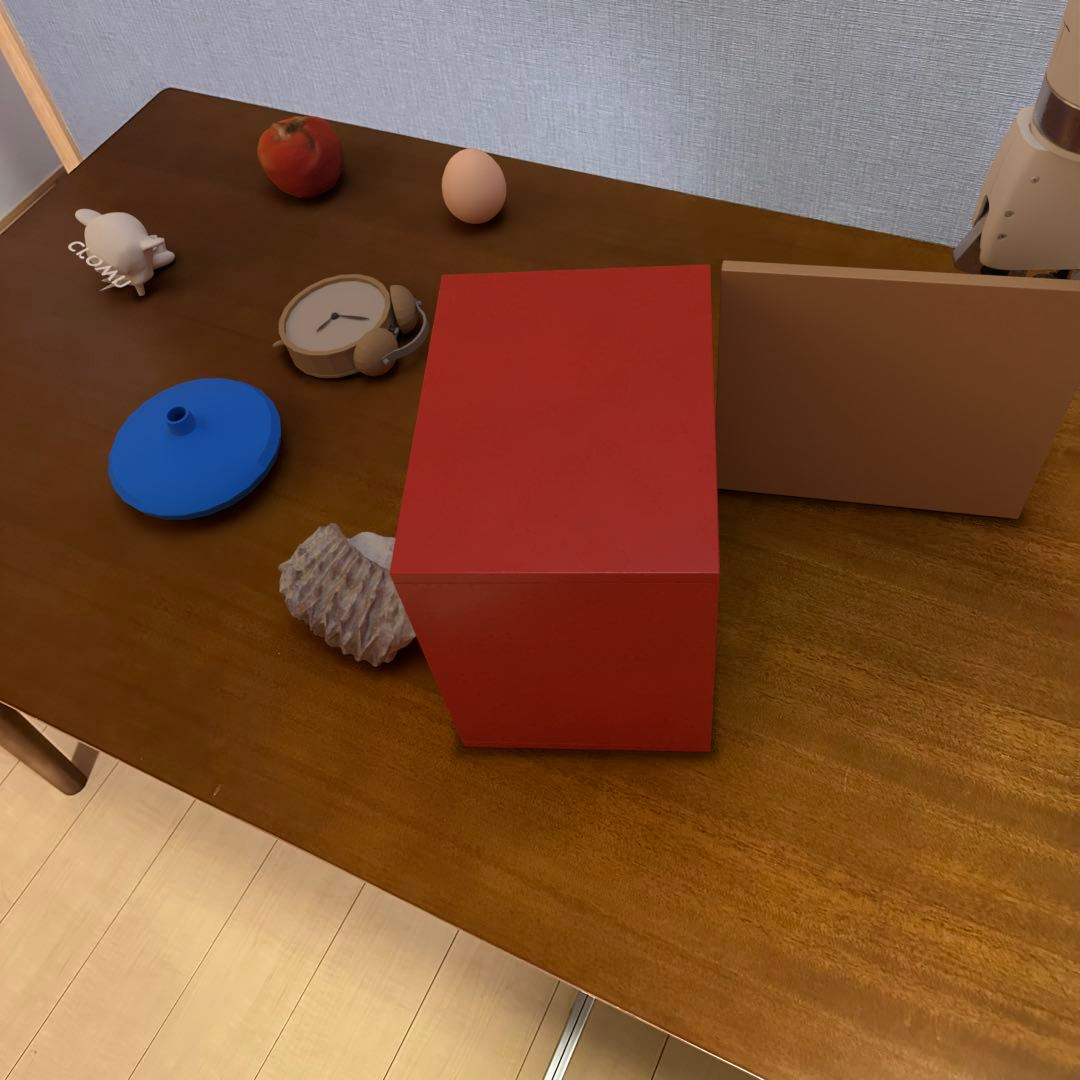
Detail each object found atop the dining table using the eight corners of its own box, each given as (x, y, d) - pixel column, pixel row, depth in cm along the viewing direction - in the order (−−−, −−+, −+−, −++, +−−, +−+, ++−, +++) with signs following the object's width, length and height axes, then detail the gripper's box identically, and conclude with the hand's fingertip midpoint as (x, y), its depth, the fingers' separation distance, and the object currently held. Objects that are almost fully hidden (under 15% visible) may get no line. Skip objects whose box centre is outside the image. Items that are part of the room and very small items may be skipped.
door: (724, 416, 92) (734, 191, 73) (1015, 441, 87) (1110, 207, 68) (712, 488, 88) (721, 270, 68) (1018, 519, 83) (1121, 293, 63)
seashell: (480, 591, 81) (391, 565, 73) (424, 695, 82) (330, 680, 74) (373, 514, 90) (284, 483, 82) (324, 608, 91) (231, 587, 83)
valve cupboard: (704, 484, 88) (710, 263, 69) (710, 752, 75) (720, 573, 55) (494, 487, 91) (441, 274, 71) (463, 747, 77) (388, 573, 58)
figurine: (133, 257, 117) (56, 287, 110) (120, 183, 112) (38, 210, 105) (209, 290, 112) (134, 323, 106) (200, 214, 107) (119, 244, 100)
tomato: (273, 166, 121) (249, 103, 114) (351, 153, 120) (332, 89, 114) (269, 217, 115) (244, 155, 109) (351, 204, 115) (331, 140, 108)
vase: (275, 380, 101) (250, 326, 95) (305, 501, 92) (280, 450, 86) (115, 431, 100) (80, 380, 94) (130, 559, 91) (93, 511, 85)
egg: (497, 242, 109) (485, 178, 102) (439, 233, 111) (424, 169, 104) (519, 201, 112) (509, 136, 106) (463, 193, 114) (449, 129, 107)
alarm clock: (306, 269, 105) (435, 269, 99) (328, 307, 109) (453, 308, 103) (255, 349, 99) (389, 353, 93) (280, 385, 103) (409, 392, 97)
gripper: (1231, 63, 63) (1123, 291, 79) (955, 75, 66) (902, 295, 81) (1267, 140, 59) (1146, 365, 74) (972, 150, 61) (913, 367, 77)
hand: (1020, 327), depth 77 cm, fingers closed on door, 2 cm apart
